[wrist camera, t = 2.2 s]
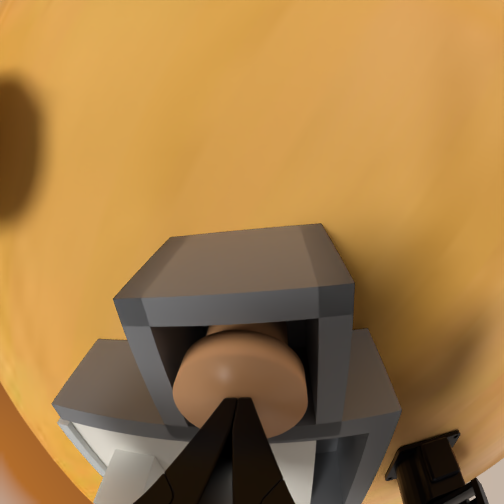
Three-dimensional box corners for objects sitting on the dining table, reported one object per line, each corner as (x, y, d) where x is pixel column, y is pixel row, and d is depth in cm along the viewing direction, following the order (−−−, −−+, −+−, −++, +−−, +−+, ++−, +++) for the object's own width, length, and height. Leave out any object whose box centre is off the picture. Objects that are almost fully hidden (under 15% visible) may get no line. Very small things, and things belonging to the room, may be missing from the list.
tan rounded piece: (300, 363, 13) (307, 437, 9) (208, 367, 13) (190, 438, 9) (296, 280, 12) (307, 350, 8) (189, 288, 12) (156, 354, 8)
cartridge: (306, 455, 18) (311, 553, 10) (137, 448, 19) (107, 529, 11) (308, 373, 15) (323, 515, 7) (91, 370, 16) (31, 466, 8)
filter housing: (348, 446, 19) (358, 508, 14) (154, 447, 21) (135, 503, 15) (373, 219, 13) (434, 273, 8) (66, 249, 15) (-4, 299, 9)
